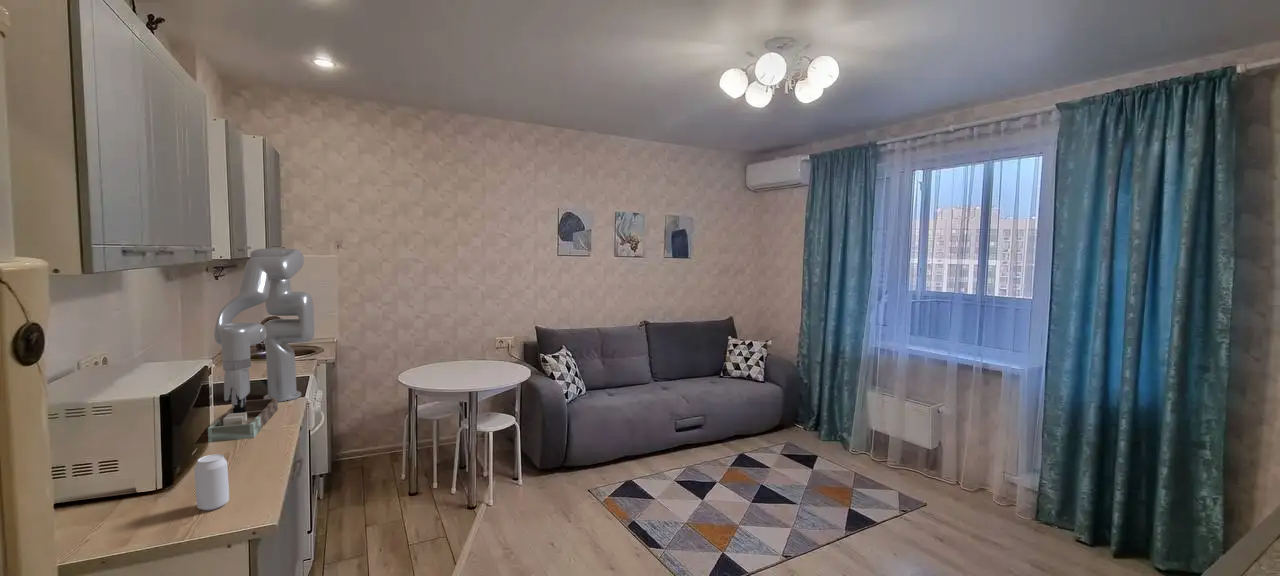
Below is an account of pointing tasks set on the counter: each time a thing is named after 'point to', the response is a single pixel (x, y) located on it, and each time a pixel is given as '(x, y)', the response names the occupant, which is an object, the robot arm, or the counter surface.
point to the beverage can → (211, 482)
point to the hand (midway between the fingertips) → (240, 418)
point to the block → (235, 419)
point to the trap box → (256, 420)
